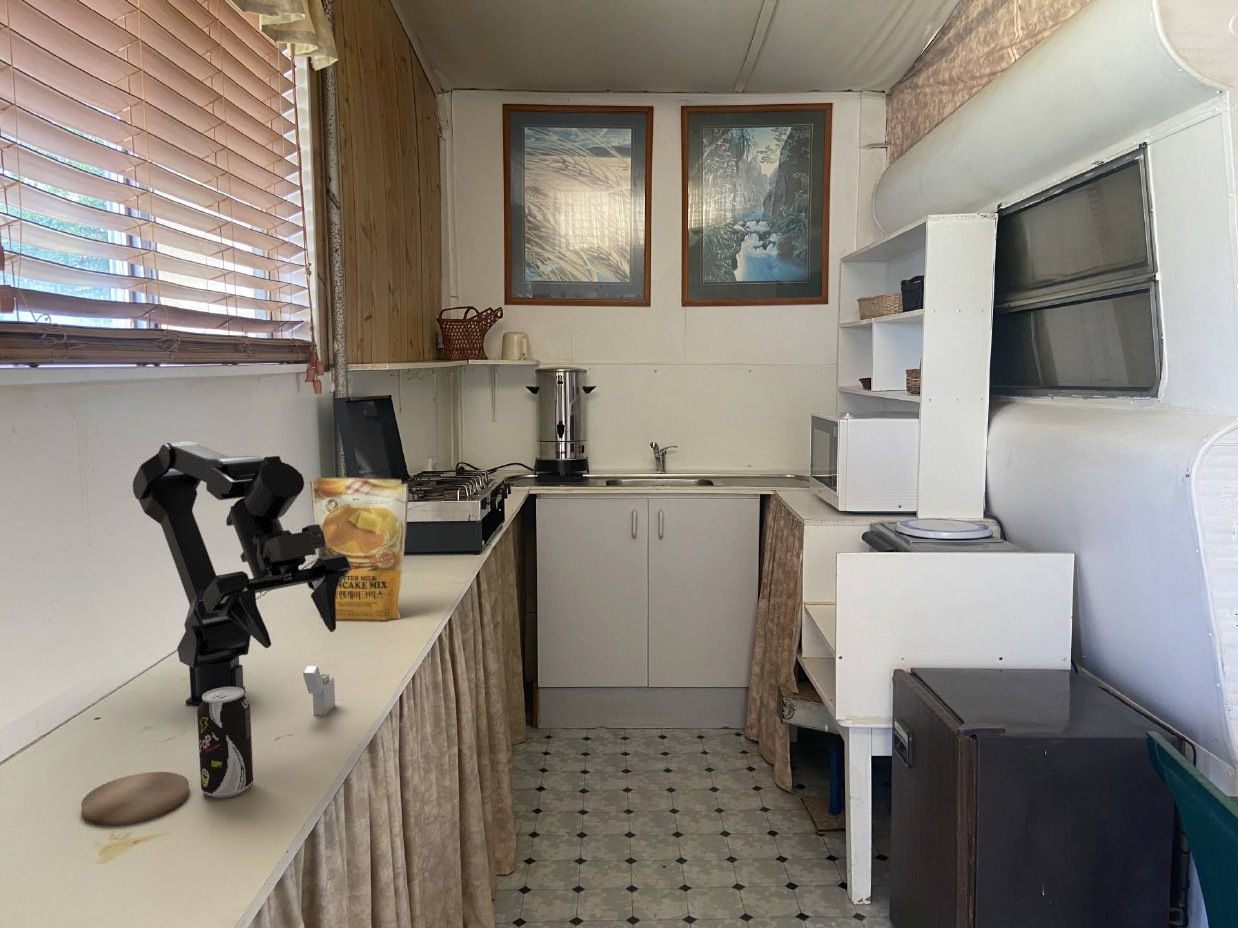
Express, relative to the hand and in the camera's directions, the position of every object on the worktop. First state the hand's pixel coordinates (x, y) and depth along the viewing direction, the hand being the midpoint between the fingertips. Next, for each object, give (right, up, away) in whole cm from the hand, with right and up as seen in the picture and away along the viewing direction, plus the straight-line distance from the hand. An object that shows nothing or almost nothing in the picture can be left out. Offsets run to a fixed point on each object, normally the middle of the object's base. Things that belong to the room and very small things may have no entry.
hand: (302, 638), depth 119 cm
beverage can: (-5, -16, -11) cm, 20 cm away
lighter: (-2, -14, +13) cm, 19 cm away
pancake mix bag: (-10, -8, +62) cm, 64 cm away
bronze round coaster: (-14, -16, -14) cm, 26 cm away
